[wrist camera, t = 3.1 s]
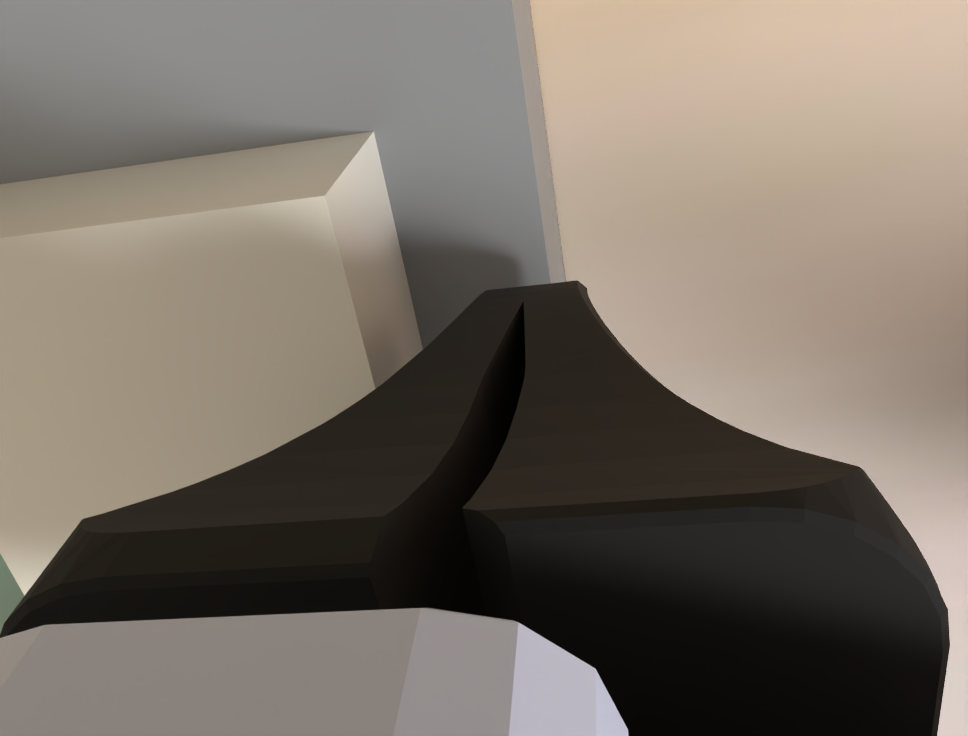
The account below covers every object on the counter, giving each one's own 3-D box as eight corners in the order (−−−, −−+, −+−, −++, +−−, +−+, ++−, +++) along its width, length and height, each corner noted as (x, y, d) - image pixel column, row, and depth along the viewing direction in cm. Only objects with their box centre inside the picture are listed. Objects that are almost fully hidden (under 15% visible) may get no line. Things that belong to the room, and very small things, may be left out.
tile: (455, 496, 14) (433, 610, 12) (119, 520, 15) (43, 628, 13) (373, 130, 11) (324, 195, 9) (-37, 189, 12) (-166, 259, 10)
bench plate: (595, 513, 18) (597, 623, 15) (147, 542, 20) (81, 645, 17) (508, -162, 12) (488, -166, 10) (-119, -40, 14) (-280, -16, 11)
